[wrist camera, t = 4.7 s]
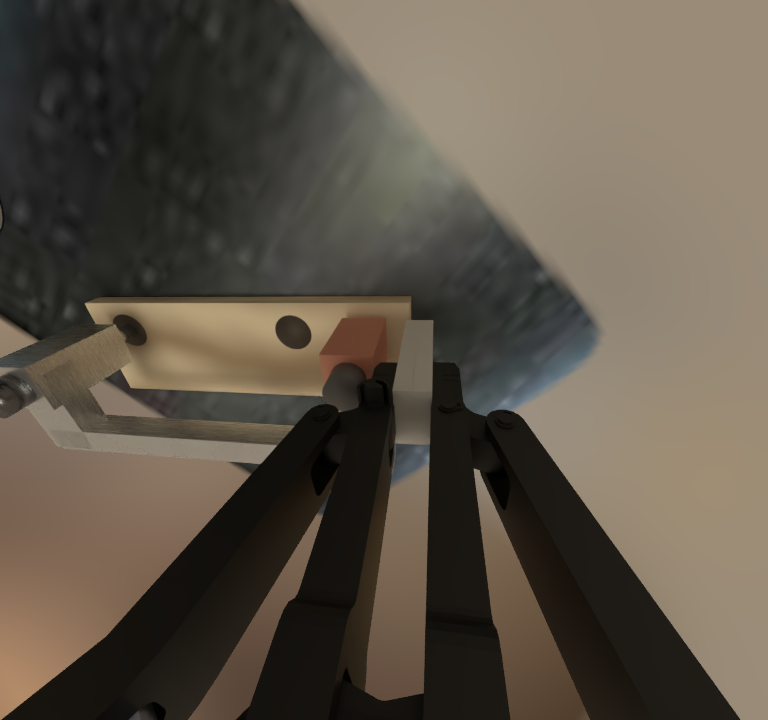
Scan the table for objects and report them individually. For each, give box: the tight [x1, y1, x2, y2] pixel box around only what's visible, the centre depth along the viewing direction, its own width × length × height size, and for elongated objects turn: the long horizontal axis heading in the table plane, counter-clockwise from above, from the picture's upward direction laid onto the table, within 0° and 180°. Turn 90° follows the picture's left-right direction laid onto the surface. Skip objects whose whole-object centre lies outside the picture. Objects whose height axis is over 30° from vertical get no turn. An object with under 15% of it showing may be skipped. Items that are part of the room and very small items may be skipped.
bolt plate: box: [85, 296, 411, 396], centre depth 22 cm, size 7×22×1 cm, turn 93°
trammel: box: [0, 324, 396, 474], centre depth 18 cm, size 6×20×8 cm, turn 93°
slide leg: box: [319, 318, 388, 492], centre depth 18 cm, size 8×3×6 cm, turn 3°
